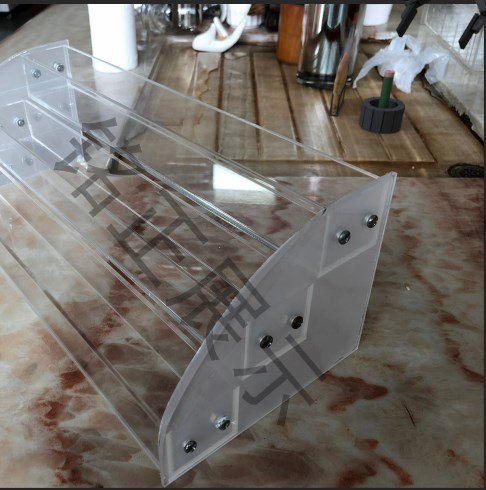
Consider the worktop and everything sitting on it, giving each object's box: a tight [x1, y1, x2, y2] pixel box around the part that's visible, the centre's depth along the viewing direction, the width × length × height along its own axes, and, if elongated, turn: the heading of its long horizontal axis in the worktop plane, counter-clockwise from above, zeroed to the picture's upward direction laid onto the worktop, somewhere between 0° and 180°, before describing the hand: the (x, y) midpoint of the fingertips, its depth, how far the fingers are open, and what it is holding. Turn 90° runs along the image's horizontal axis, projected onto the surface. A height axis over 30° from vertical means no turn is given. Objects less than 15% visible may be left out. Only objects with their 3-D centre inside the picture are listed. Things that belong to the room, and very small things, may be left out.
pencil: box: [378, 69, 396, 109], centre depth 127 cm, size 2×2×12 cm
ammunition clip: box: [328, 50, 349, 117], centre depth 136 cm, size 11×2×12 cm, turn 158°
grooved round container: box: [358, 96, 406, 134], centre depth 129 cm, size 9×9×5 cm
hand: (428, 39), depth 123 cm, fingers open, 13 cm apart
